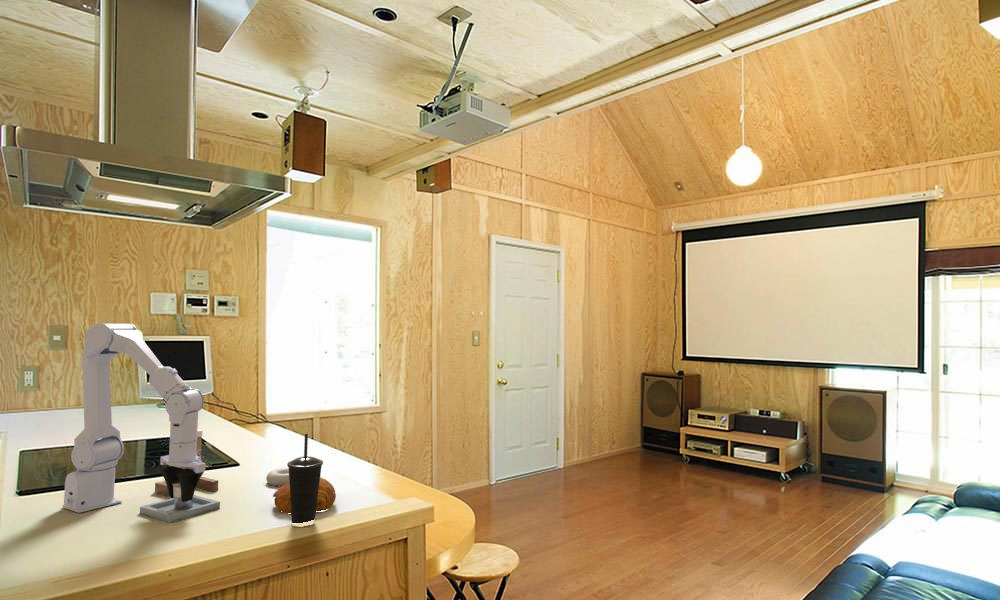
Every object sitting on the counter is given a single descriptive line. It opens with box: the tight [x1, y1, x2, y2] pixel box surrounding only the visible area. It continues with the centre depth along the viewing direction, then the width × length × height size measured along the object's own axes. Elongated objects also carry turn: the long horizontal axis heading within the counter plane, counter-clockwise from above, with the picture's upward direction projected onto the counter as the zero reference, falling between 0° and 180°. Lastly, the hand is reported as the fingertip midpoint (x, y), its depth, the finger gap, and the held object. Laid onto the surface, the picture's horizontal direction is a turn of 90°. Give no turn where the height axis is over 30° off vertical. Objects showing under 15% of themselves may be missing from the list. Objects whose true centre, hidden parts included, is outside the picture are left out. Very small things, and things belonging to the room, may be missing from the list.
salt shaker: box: [172, 480, 193, 510], centre depth 136 cm, size 4×4×6 cm
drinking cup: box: [286, 433, 324, 524], centre depth 129 cm, size 8×8×20 cm
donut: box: [265, 467, 289, 487], centre depth 161 cm, size 10×4×10 cm
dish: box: [139, 494, 221, 524], centre depth 136 cm, size 12×12×2 cm
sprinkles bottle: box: [196, 428, 203, 462], centre depth 165 cm, size 5×5×13 cm
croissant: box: [272, 476, 337, 514], centre depth 141 cm, size 14×16×8 cm
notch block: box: [154, 476, 219, 498], centre depth 151 cm, size 10×12×2 cm
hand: (180, 499), depth 136 cm, fingers closed on salt shaker, 4 cm apart
